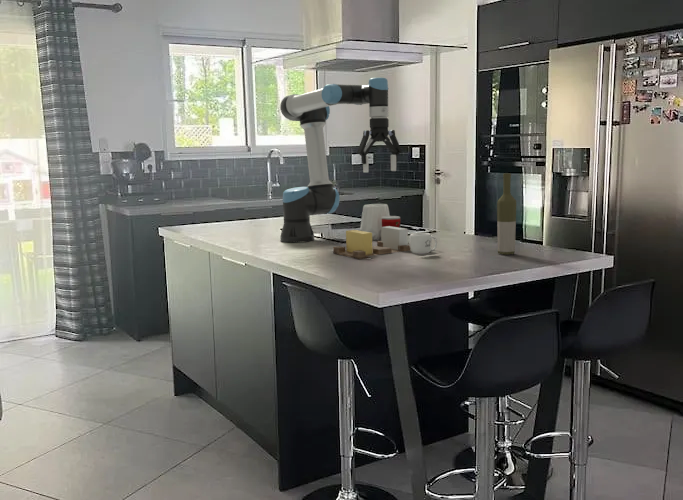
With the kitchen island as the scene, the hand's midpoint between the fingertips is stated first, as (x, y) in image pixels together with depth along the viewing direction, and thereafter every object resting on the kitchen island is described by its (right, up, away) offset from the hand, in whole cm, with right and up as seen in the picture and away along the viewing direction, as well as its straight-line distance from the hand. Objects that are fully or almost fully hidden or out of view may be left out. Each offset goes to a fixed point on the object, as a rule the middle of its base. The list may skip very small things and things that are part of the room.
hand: (379, 171), depth 276 cm
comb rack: (-4, -33, -9) cm, 34 cm away
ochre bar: (-9, -32, -12) cm, 35 cm away
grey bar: (+6, -31, -3) cm, 31 cm away
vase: (0, -27, +30) cm, 40 cm away
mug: (+16, -33, -14) cm, 39 cm away
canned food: (+6, -28, +17) cm, 34 cm away
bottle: (+46, -33, -20) cm, 60 cm away
